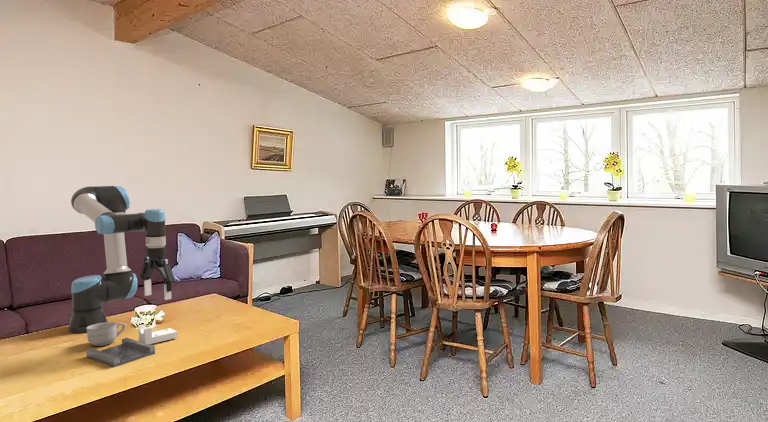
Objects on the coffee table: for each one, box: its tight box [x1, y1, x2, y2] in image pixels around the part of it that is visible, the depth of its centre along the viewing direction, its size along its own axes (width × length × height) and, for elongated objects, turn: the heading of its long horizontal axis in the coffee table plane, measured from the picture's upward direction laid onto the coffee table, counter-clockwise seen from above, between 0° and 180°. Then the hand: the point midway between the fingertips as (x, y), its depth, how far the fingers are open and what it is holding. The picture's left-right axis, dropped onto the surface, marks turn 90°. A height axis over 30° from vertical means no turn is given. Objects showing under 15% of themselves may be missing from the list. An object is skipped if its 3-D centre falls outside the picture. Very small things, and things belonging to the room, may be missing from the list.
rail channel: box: [85, 337, 156, 368], centre depth 190 cm, size 19×16×3 cm
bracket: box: [137, 324, 178, 345], centre depth 206 cm, size 13×7×8 cm, turn 136°
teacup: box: [86, 321, 126, 347], centre depth 204 cm, size 14×11×8 cm
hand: (157, 297), depth 206 cm, fingers open, 13 cm apart
